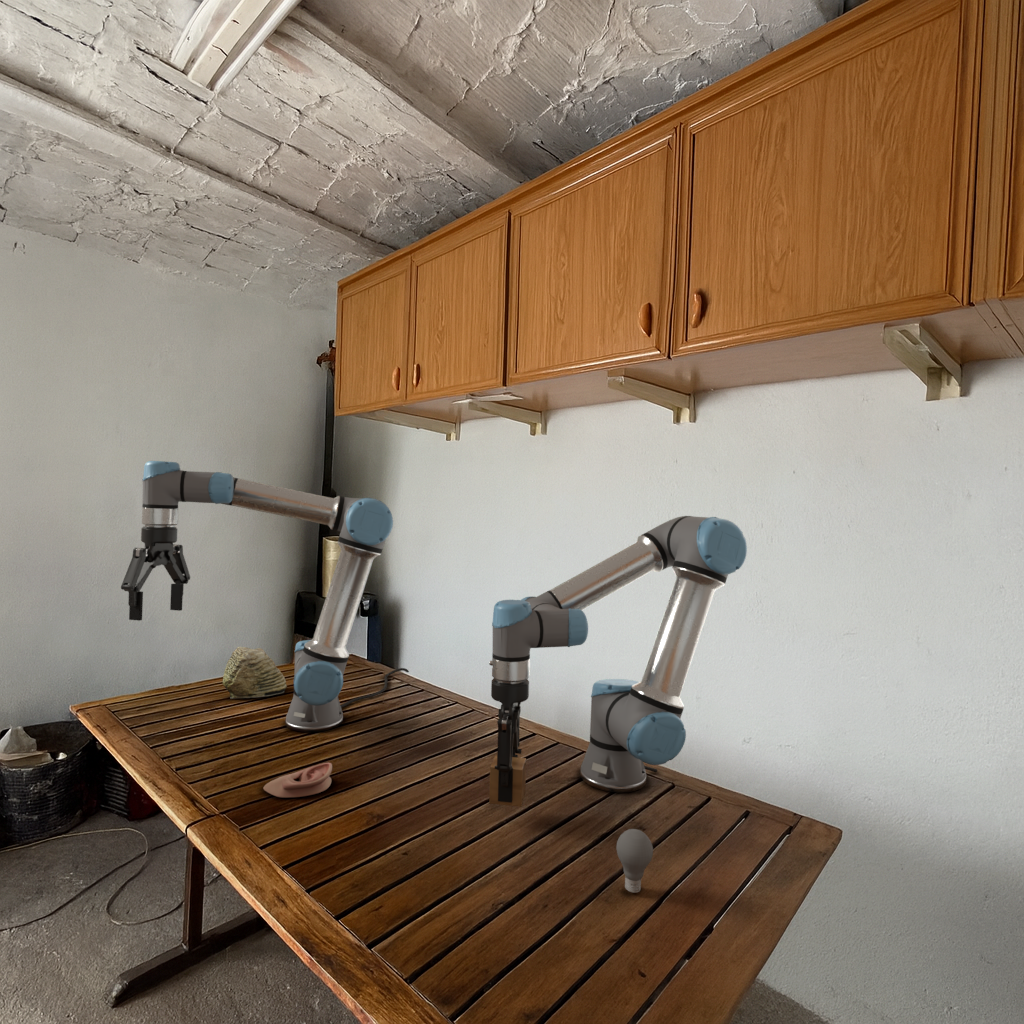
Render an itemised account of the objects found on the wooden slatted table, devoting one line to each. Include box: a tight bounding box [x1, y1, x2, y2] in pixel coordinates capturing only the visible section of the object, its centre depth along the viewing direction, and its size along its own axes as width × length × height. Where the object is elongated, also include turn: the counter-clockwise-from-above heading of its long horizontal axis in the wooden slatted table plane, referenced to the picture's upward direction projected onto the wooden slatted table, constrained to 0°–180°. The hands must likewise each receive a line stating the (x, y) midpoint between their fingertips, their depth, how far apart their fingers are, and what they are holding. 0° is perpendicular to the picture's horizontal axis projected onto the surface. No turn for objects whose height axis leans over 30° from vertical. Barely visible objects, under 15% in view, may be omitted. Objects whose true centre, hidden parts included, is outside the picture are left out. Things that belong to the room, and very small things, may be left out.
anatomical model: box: [262, 762, 333, 799], centre depth 138 cm, size 13×4×12 cm
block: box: [488, 755, 527, 808], centre depth 127 cm, size 6×6×7 cm
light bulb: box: [615, 828, 654, 894], centre depth 106 cm, size 6×6×10 cm
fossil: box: [222, 646, 288, 699], centre depth 198 cm, size 9×18×15 cm, turn 132°
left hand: (156, 614), depth 151 cm, fingers open, 13 cm apart
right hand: (507, 793), depth 127 cm, fingers closed on block, 6 cm apart
